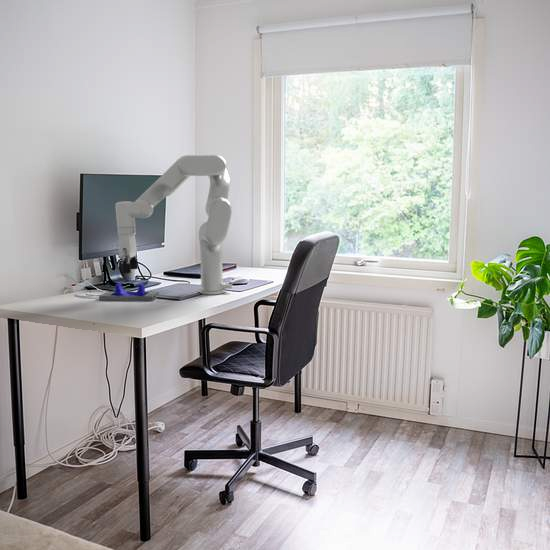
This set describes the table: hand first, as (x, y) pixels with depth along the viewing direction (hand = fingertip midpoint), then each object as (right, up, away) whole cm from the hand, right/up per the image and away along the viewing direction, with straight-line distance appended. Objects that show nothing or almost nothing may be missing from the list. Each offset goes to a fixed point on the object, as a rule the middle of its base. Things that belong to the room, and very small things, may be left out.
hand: (130, 271), depth 273 cm
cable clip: (-1, -12, +3) cm, 12 cm away
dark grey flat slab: (-1, -12, +2) cm, 12 cm away
